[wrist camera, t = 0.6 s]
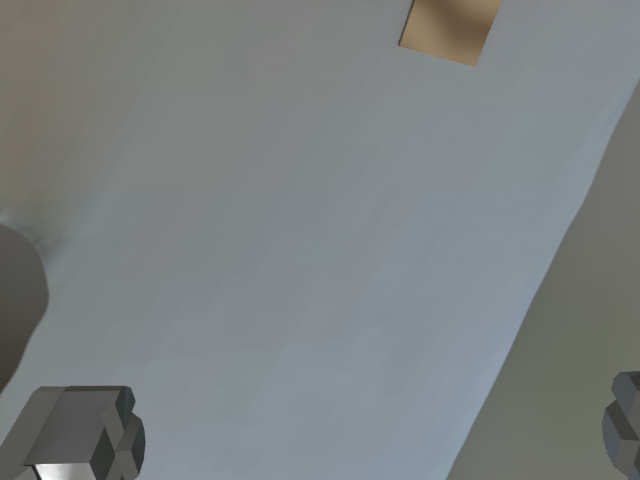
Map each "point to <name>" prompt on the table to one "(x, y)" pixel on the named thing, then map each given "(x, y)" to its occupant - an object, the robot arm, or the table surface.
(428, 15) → the cork pad
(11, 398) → the table surface
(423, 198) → the table surface
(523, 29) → the table surface
